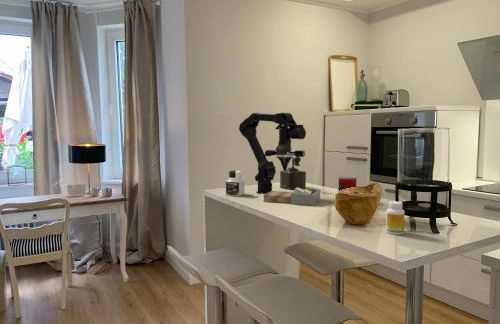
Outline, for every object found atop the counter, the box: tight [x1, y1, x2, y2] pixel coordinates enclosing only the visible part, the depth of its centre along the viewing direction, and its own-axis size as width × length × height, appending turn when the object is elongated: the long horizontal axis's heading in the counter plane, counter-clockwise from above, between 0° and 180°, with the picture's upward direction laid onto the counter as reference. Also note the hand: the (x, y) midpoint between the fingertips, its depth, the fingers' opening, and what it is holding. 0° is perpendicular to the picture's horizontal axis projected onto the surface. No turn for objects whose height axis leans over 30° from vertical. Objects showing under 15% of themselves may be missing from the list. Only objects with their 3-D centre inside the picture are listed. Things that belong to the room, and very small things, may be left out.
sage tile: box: [293, 187, 304, 194], centre depth 175 cm, size 4×4×3 cm
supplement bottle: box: [385, 200, 406, 236], centre depth 123 cm, size 5×5×10 cm
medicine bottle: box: [225, 169, 246, 197], centre depth 193 cm, size 7×7×12 cm
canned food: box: [337, 174, 357, 193], centre depth 177 cm, size 8×8×11 cm
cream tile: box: [303, 188, 312, 195], centre depth 174 cm, size 4×4×3 cm
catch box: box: [290, 188, 321, 206], centre depth 174 cm, size 10×15×4 cm, turn 160°
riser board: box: [263, 190, 294, 204], centre depth 178 cm, size 13×12×3 cm
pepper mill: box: [279, 156, 307, 191], centre depth 210 cm, size 16×11×18 cm
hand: (284, 171), depth 189 cm, fingers closed
